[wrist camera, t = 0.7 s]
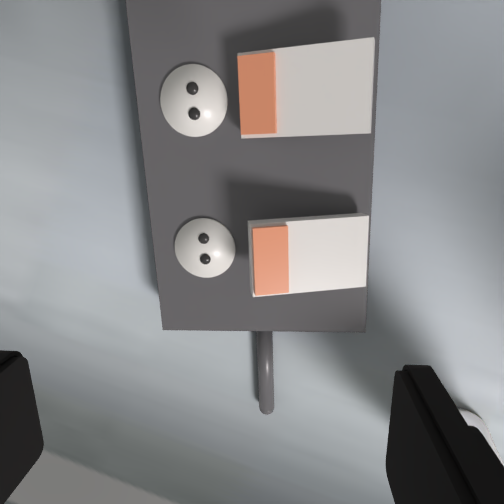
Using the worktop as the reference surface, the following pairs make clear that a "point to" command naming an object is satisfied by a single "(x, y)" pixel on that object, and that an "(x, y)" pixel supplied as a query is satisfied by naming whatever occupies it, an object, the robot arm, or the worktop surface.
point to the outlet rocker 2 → (307, 253)
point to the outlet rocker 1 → (307, 89)
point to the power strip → (240, 163)
